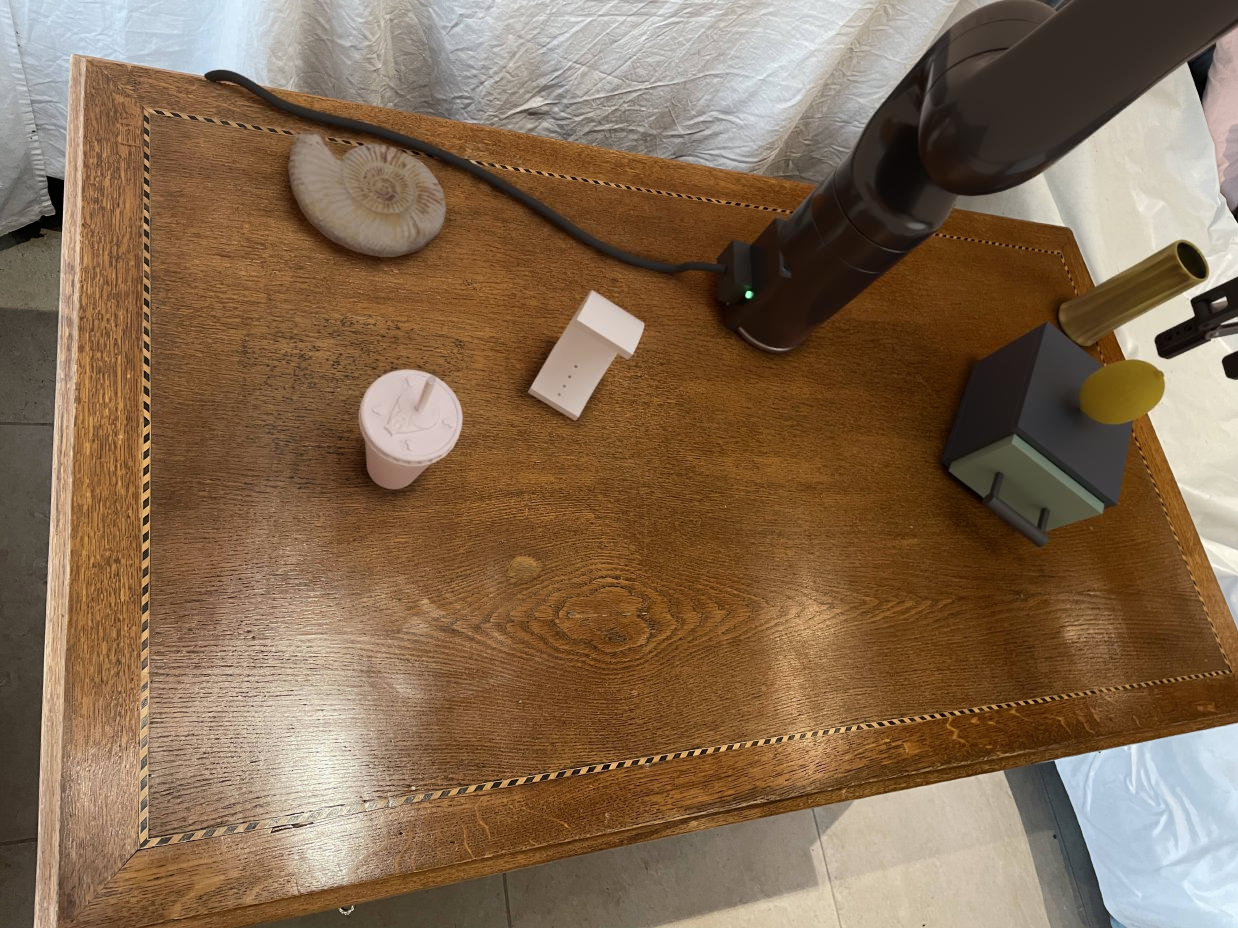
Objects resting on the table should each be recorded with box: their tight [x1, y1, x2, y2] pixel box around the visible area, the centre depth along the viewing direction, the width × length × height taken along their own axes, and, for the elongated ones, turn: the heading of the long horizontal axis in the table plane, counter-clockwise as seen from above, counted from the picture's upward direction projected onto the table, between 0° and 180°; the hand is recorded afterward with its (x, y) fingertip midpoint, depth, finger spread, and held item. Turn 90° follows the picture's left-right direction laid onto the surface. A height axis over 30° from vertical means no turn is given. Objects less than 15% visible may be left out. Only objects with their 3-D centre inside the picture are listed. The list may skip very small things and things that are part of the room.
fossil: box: [287, 130, 447, 258], centre depth 63 cm, size 12×5×10 cm
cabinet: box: [940, 320, 1134, 510], centre depth 80 cm, size 15×13×10 cm
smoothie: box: [358, 369, 463, 490], centre depth 52 cm, size 6×6×14 cm
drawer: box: [948, 434, 1104, 548], centre depth 78 cm, size 18×11×8 cm, turn 151°
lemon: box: [1079, 359, 1166, 424], centre depth 72 cm, size 6×6×8 cm
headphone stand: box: [527, 289, 645, 422], centre depth 61 cm, size 5×6×12 cm
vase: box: [1057, 238, 1210, 347], centre depth 91 cm, size 6×6×14 cm
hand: (1193, 359), depth 67 cm, fingers open, 8 cm apart
